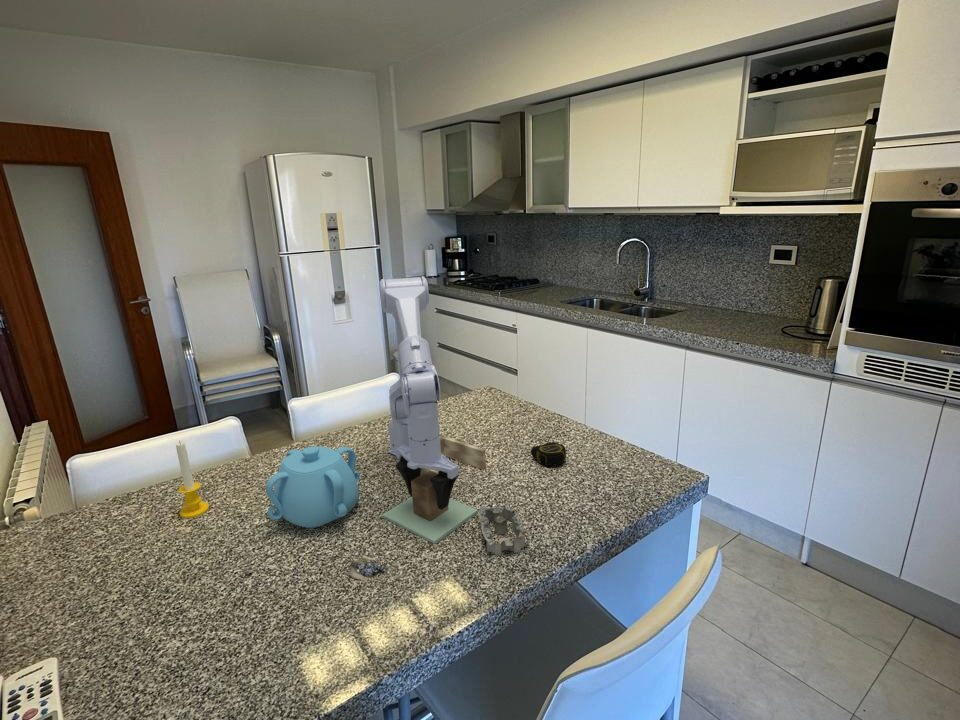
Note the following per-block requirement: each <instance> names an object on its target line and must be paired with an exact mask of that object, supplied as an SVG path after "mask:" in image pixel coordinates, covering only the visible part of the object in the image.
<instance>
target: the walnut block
mask: <svg viewBox="0 0 960 720" xmlns="http://www.w3.org/2000/svg"><path fill="white" fill-rule="evenodd" d="M435 475H437V473H435V472H432V471H428V472H426V473H424V474H422V475H421V476H419V477H417V478H415V479H414V480H412V481H411V488H412V496H411V497H412V500H413V512H414V514H416V515H418V516H420V517H422V518H424V519H426V520H428V521H432V520H433V519H435V518H436V517H438V516H439V515H441V514H442V513H444V512H445V511H447V510H448V509H449V508H448V506H447V507H445V508H444V509H442V510H441V509H439V508H438V505H437V498H436V492H435V489H434V487H433V484H432V483H431V481H430V478H432V477H434V476H435Z"/></svg>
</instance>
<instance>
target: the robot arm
mask: <svg viewBox="0 0 960 720" xmlns="http://www.w3.org/2000/svg"><path fill="white" fill-rule="evenodd" d="M378 286H379V294H380V305H381V310H382V311H383V313H385V314H390V315H392V317H393V319H394V325H395V336H396V339H395V340H396V349H397V362H398V373H399V374H398V375H399V379H398V380H396V382H395V383H393V384H392V385H391V386H390V387H389V389H388V393H389V397H388V398H389V400H388V401H389V408H390V409H389V410H390V417H391V419H390V421H389V424H388V433H389V435H388V436H389V445H390V449H388V450H387V452H388V453H389V454H392V455H394V456H395V457H396V458H397V459H401V460H399V462H396V464H395V468H396V470H397V471H398V472H399V474H400V476H401V475H402V477H401V478H402V479H403V481H404V483H405V485H406V487H407V488H406V489H407V491H408V494H409V496H410V497H412V488H411V481H412V480H414V479H415V478H417V477H419V476H420V474H421V468H424V469H431V470H436V471H438V474H437V475H435V476H434V477H432V478H430V481H431V483H432V484H433V487H434V489H435V492H436V498H437V505H438V508H439V509H441V510H442V509H444V508H445V507H447V506H448V505H449V499H450V498H451V495H452V491H453V488H454V485H455V483H456V481H457V479H458V477H459V475H460V470H459V465H458V464H457V463H454V462H453V461H451V460H450V459H449V457H447V456H444V455H443V454H442V453H441V446H440V437H441V434H440V419H439V418H440V416H439V406H438V405H439V404H438V403H439V402H440V400H441V385H440V379H439V375H438V372H437V369H436V366H435V365H433V360H432V359H433V358H432V354H431V349H430V348H431V347H430V343H429V342H428V341H427V339H425V338H424V337H422V328H421V315H420V314H421V313H420V312H422V311H424V310H426V309H427V306H428V304H429V302H430V293H429V284H428V279H427V278H426V277H425V276H424V275H422V276H420V277H419V276H418V277H403V278H401V277H400V278H389V279H387V278H386V279H384V278H381V279H380V280H379V285H378Z"/></svg>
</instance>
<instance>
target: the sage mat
mask: <svg viewBox="0 0 960 720" xmlns="http://www.w3.org/2000/svg"><path fill="white" fill-rule="evenodd" d="M448 508H449V509H448V510H447V511H445V512H444V513H442V514H441V515H439V516H438V517H436V518H435V519H433V520H432V521H428V520H426V519H424V518H422V517H420V516H418V515H416V514H414V512H413V500H412V496H410V497H409V498H408V499H405V500H404V501H402V502H401V503H399V504H397V505H395V506H394V507H393V508H391V509H389V510H387V511H385V512H384V513H382V515H381V517H382V518H383V519H385V520H387V521H389V522H390V523H393V524H395V525H396V526H399V527H401V528H402V529H403V530H406V531H409V532H410V533H412V534H414V535H416V536H418V537H420V538H422V539H424V540H426V541H428V542H429V543H431V544H434V545H435V544H437V543H438V542H440V541H441V540H443V539H444V538H445V537H447V536H448V535H449V534H451V533H452V532H453V531H455V530H456V529H458V528H459V527H461V526H462V525H463V524H464V523H466V522H467V521H468V520H470V519H472V518H473V517H474V516H475V515H477V514H479V510H478V509H477V508H474V507H472V506H469V505H467V504H465V503H462V502H459V501H458V500H455V499H453V498H451V497H450V499H449V505H448Z"/></svg>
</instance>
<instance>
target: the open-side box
mask: <svg viewBox="0 0 960 720" xmlns="http://www.w3.org/2000/svg"><path fill="white" fill-rule="evenodd" d="M440 446H441V453H442V454H443V455H444V456H445V457H446V458H450V459H453V460H455V461H458V462H461V463H464V464H467V465H470V466H471V467H472V466H473V467H474V468H478V469H481V470H484V469H486V468H487V463H486V460H487V459H486V449H485V448H481V447H478V446H474V445H472V444H469V443H466V442H462V441H459V440H457V439H453V438H451V437H448V436H444V435H442V436H440ZM398 459H399V458H398ZM400 460H401V459H399V460H398V461H400ZM428 471H432V472H435V473H437V474H438V471H436V470H431V469H424V468H421V474H420V476H421V475H422V474H424V473H426V472H428ZM400 477H401V478H403V477H402V475H401V474H400Z"/></svg>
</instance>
